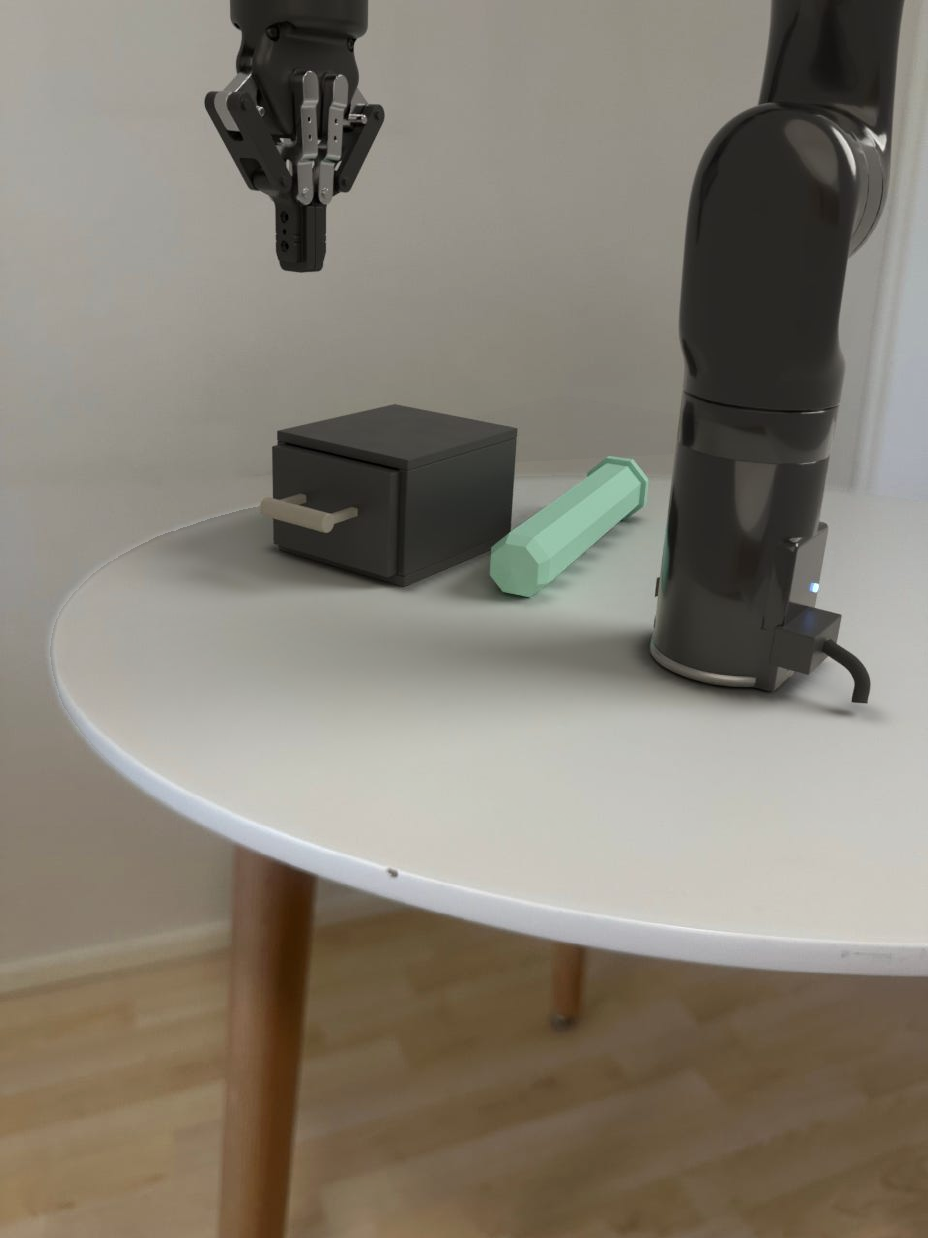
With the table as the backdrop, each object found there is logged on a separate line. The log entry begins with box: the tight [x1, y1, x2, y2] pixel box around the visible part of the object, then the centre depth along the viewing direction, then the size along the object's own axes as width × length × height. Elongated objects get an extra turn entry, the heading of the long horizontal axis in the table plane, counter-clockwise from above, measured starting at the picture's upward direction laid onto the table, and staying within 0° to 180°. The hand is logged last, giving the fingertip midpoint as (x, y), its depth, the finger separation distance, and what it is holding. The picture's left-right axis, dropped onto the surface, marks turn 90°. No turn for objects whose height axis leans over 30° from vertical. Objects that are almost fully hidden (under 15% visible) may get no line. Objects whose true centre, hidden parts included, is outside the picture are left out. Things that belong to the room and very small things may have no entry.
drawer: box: [259, 444, 400, 577], centre depth 89 cm, size 18×11×8 cm, turn 145°
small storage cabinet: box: [276, 403, 519, 588], centre depth 92 cm, size 15×13×10 cm
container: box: [489, 455, 650, 598], centre depth 93 cm, size 6×6×25 cm
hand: (300, 270), depth 68 cm, fingers closed
